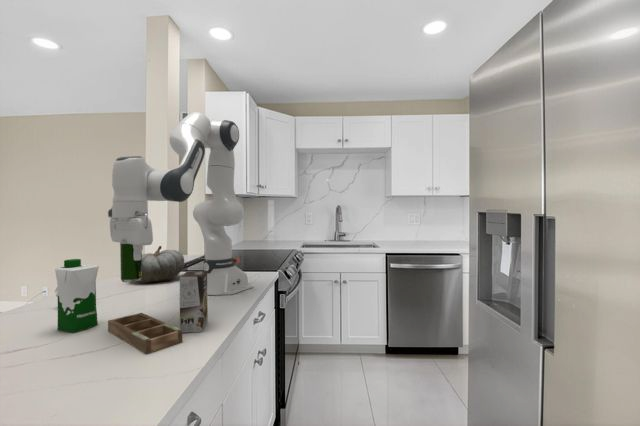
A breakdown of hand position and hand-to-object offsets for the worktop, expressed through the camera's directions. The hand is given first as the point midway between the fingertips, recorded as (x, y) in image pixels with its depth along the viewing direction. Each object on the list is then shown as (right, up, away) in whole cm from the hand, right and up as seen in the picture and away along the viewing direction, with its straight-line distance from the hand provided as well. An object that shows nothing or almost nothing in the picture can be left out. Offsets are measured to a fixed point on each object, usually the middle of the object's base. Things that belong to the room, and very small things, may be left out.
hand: (131, 259), depth 95 cm
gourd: (-26, -20, +67) cm, 74 cm away
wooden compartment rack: (+6, -21, -5) cm, 22 cm away
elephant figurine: (-34, -21, +23) cm, 46 cm away
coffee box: (+17, -21, +2) cm, 27 cm away
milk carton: (-17, -21, +2) cm, 27 cm away
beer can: (0, -6, 0) cm, 6 cm away
